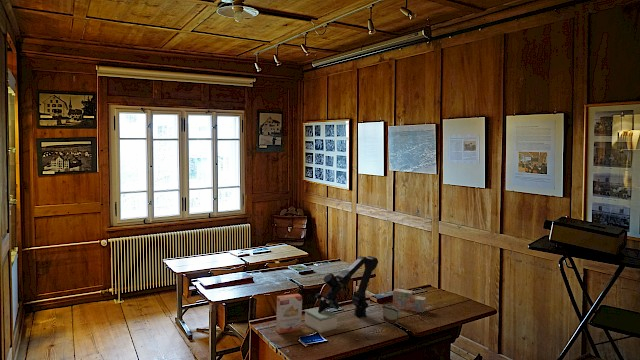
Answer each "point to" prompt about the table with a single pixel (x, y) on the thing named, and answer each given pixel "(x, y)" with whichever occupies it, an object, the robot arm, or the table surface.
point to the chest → (320, 323)
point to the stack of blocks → (408, 300)
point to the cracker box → (289, 313)
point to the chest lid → (320, 314)
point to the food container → (390, 313)
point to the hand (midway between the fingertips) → (318, 312)
